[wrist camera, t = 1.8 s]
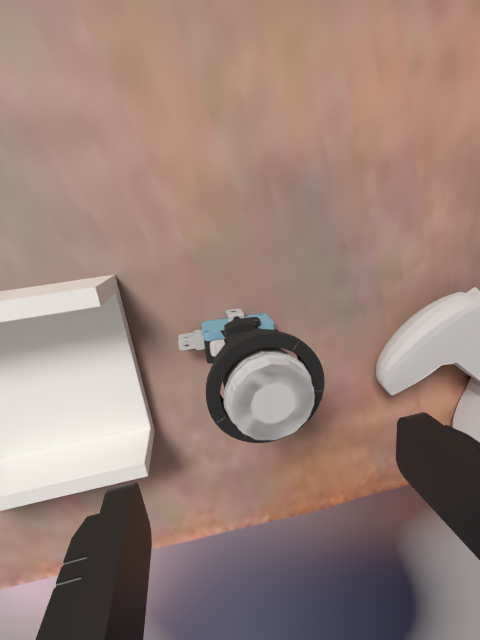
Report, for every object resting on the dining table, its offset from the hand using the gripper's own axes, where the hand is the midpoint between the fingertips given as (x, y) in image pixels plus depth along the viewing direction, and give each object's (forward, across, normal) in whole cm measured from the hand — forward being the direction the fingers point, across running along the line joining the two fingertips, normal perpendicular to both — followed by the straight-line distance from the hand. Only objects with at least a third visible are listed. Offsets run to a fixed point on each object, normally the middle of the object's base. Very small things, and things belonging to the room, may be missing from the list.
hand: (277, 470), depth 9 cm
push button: (+14, 0, 0) cm, 14 cm away
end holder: (+14, +13, +1) cm, 18 cm away
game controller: (+14, -19, +6) cm, 24 cm away
